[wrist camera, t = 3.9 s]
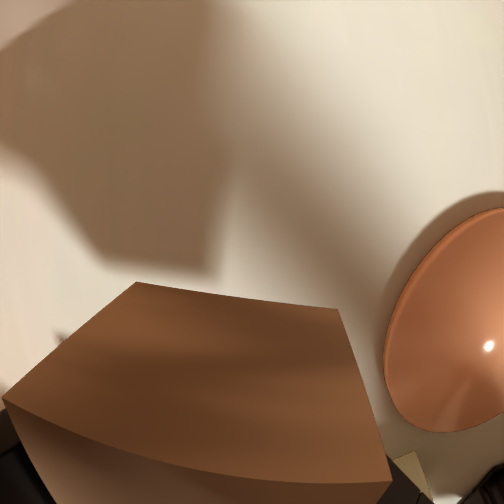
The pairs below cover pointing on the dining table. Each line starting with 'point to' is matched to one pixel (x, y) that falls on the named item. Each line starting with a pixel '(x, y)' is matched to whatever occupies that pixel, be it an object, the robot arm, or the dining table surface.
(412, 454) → the sage cube
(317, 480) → the walnut block
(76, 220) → the dining table surface
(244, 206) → the dining table surface
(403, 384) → the coaster
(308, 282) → the dining table surface
